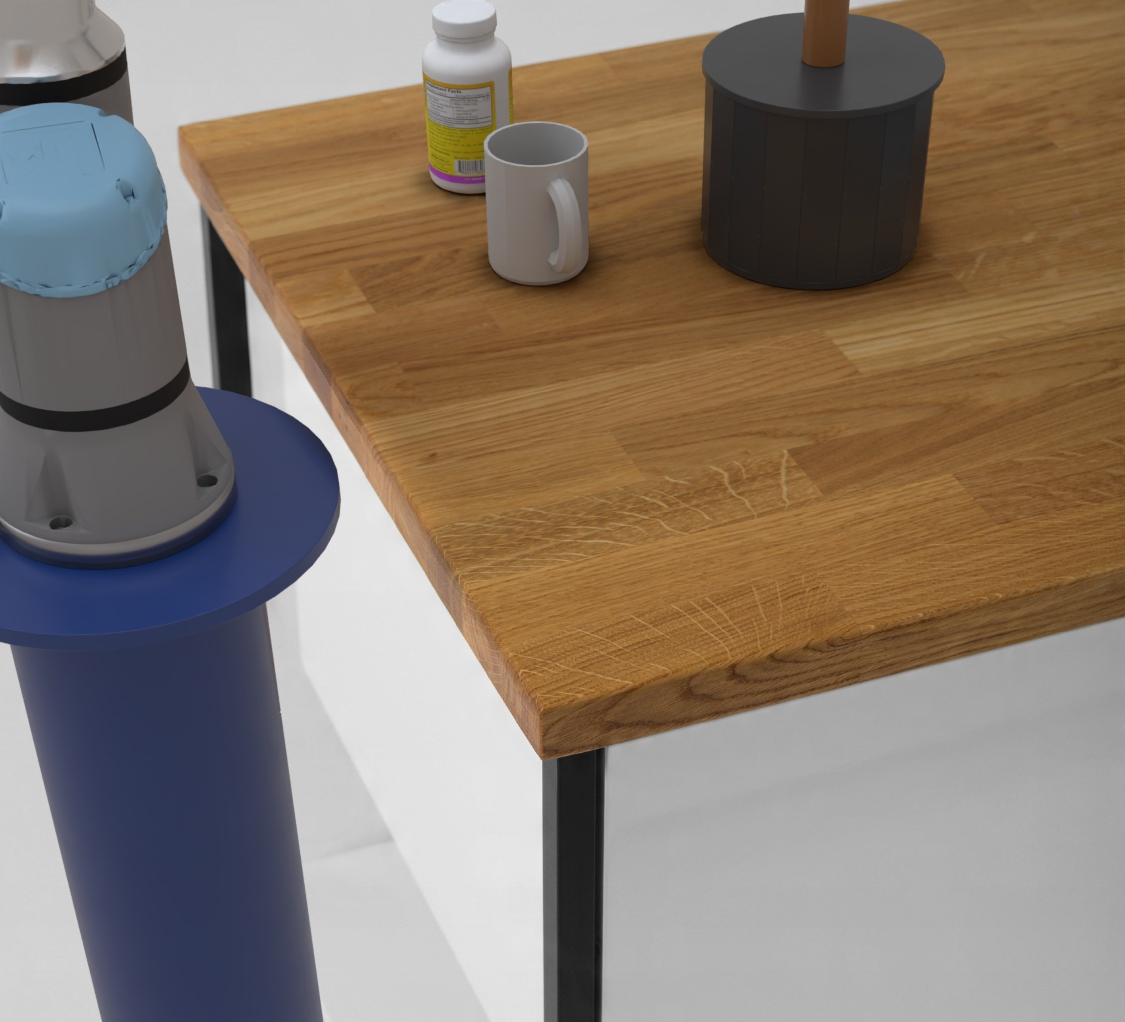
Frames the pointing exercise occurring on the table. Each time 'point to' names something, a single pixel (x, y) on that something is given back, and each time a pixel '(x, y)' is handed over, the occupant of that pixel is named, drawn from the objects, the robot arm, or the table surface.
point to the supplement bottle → (464, 92)
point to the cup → (537, 202)
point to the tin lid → (823, 63)
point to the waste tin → (812, 193)
